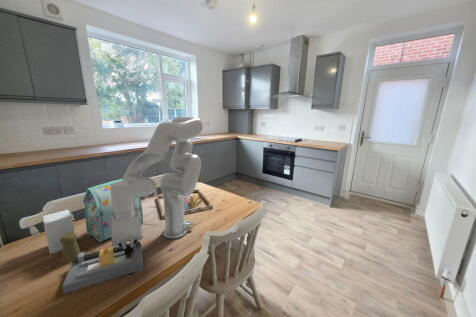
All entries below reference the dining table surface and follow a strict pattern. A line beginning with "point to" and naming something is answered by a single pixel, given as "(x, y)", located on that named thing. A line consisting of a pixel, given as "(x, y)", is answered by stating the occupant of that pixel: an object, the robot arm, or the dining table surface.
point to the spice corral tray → (188, 209)
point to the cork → (69, 247)
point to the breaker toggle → (106, 256)
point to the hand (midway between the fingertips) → (129, 254)
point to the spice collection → (191, 201)
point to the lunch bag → (102, 210)
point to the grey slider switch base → (101, 268)
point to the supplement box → (57, 229)
